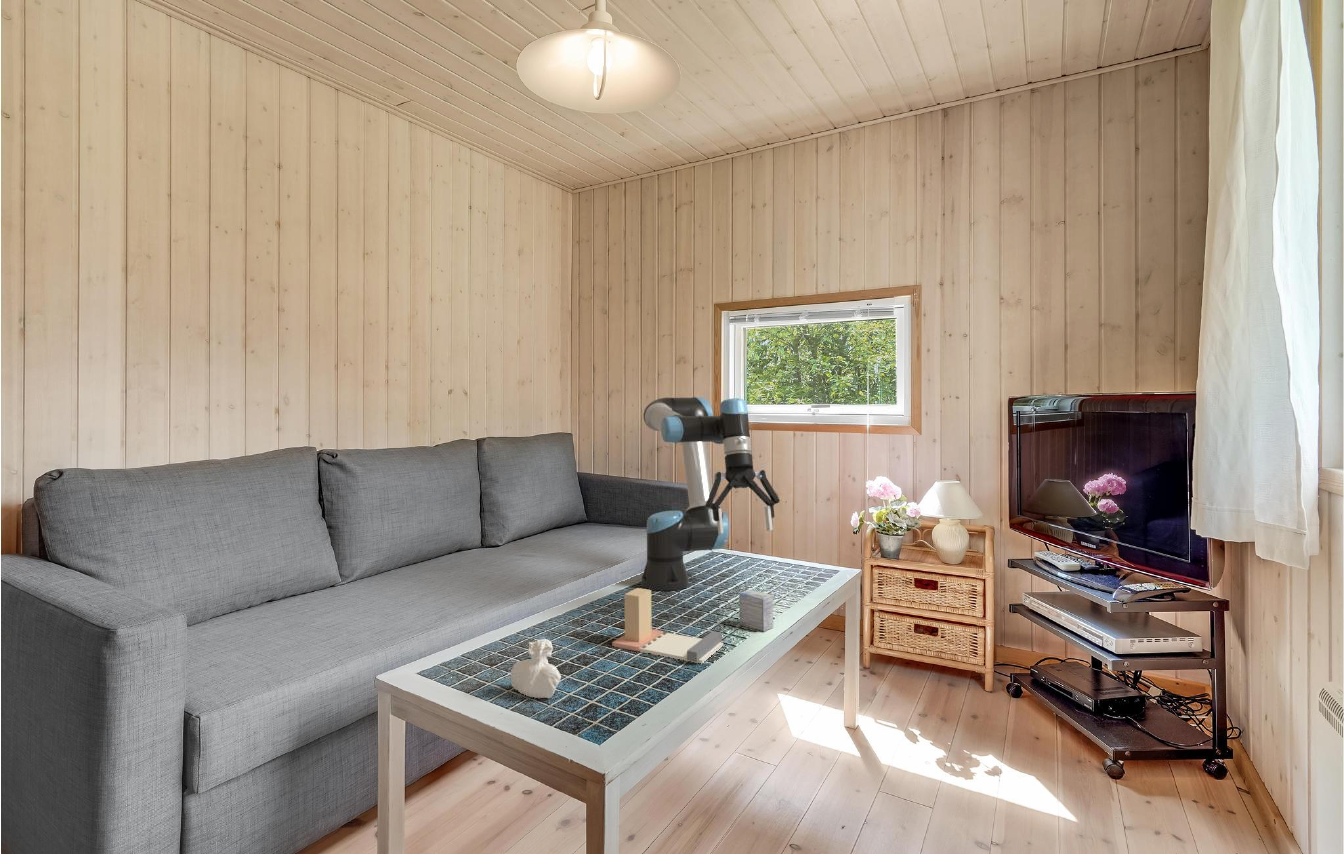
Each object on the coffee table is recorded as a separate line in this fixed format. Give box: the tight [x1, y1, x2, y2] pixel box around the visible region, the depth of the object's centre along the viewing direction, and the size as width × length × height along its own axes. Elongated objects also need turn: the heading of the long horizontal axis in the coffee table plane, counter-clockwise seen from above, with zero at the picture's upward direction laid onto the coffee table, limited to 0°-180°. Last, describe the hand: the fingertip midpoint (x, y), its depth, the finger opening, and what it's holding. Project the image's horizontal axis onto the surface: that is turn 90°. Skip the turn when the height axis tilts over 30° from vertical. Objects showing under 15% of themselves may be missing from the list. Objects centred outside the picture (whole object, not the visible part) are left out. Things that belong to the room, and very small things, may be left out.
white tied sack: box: [509, 638, 562, 699], centre depth 130 cm, size 12×8×11 cm
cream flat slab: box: [639, 630, 724, 665], centre depth 152 cm, size 16×14×3 cm
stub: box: [611, 587, 664, 652], centre depth 157 cm, size 7×12×12 cm, turn 152°
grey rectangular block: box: [738, 589, 774, 632], centre depth 167 cm, size 8×4×9 cm, turn 47°
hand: (745, 532), depth 172 cm, fingers open, 13 cm apart
